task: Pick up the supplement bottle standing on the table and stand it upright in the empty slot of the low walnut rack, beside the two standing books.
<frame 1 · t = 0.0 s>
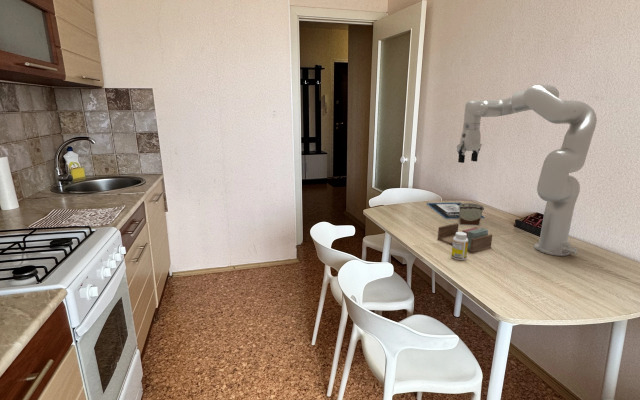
hand: (467, 161, 175), 31 cm above the table, tool pointing down, fingers open, 9 cm apart
rack: (463, 243, 152), on the table
sketchbook: (453, 212, 202), on the table
food container: (467, 223, 180), on the table
supplement bottle: (458, 258, 138), on the table
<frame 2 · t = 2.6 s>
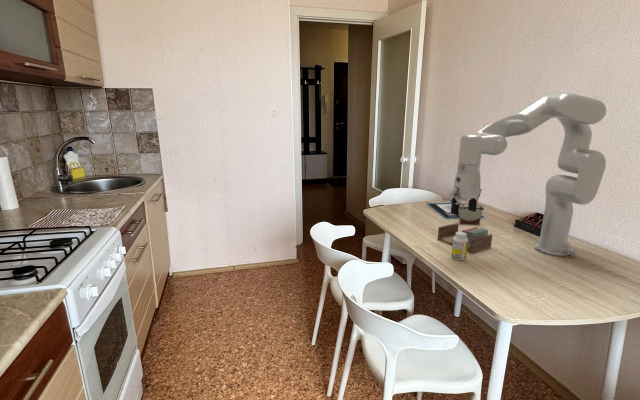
hand: (463, 212, 134), 19 cm above the table, tool pointing down, fingers open, 9 cm apart
nothing on the table moved.
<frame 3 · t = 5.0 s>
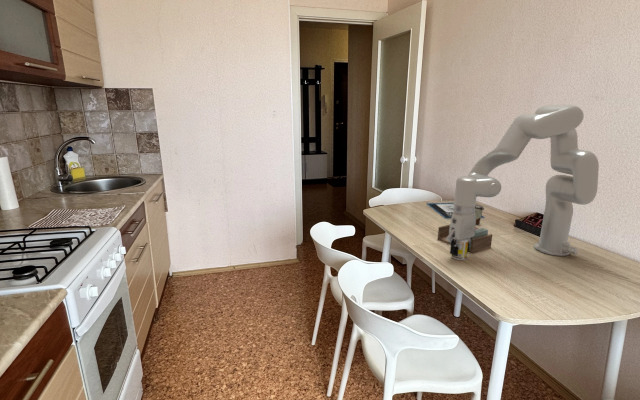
hand: (459, 252, 138), 2 cm above the table, tool pointing down, fingers closed on supplement bottle, 5 cm apart
supplement bottle: (458, 258, 138), on the table, touching gripper
everything else where it was.
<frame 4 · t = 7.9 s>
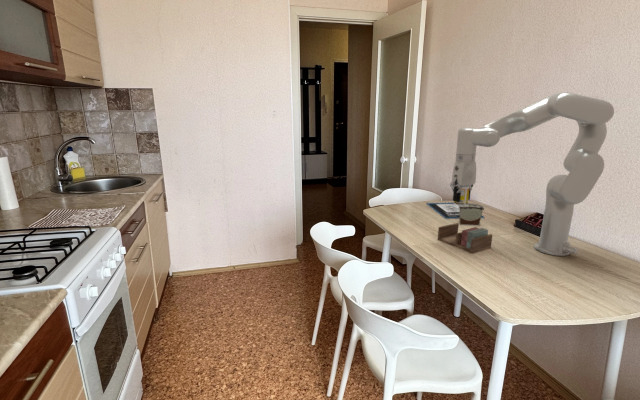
hand: (461, 199, 149), 19 cm above the table, tool pointing down, fingers closed on supplement bottle, 5 cm apart
supplement bottle: (460, 205, 150), point 17 cm above the table, touching gripper
everything else where it was.
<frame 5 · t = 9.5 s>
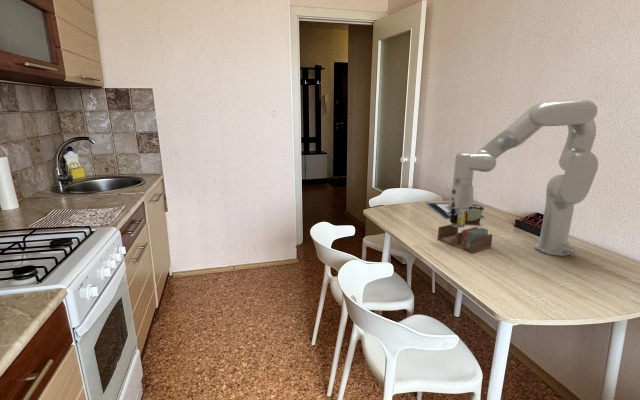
hand: (458, 221, 153), 9 cm above the table, tool pointing down, fingers closed on supplement bottle, 5 cm apart
supplement bottle: (457, 226, 154), point 7 cm above the table, touching gripper
everything else where it was.
when the fingers open (4 cm above the table, at t = 10.9 s): supplement bottle drops 1 cm, resting on rack.
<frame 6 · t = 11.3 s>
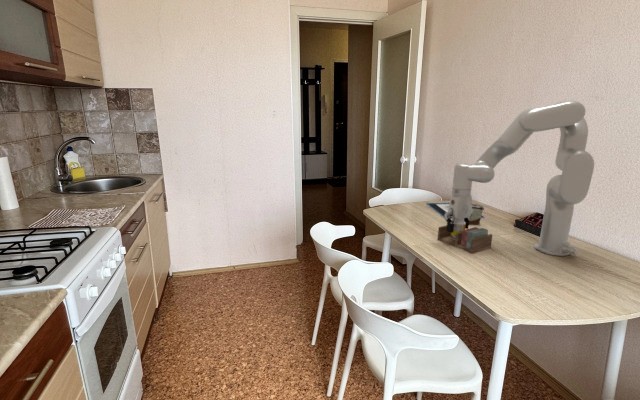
hand: (457, 229, 154), 5 cm above the table, tool pointing down, fingers open, 9 cm apart
supplement bottle: (457, 239, 155), point 1 cm above the table, touching rack
everything else where it was.
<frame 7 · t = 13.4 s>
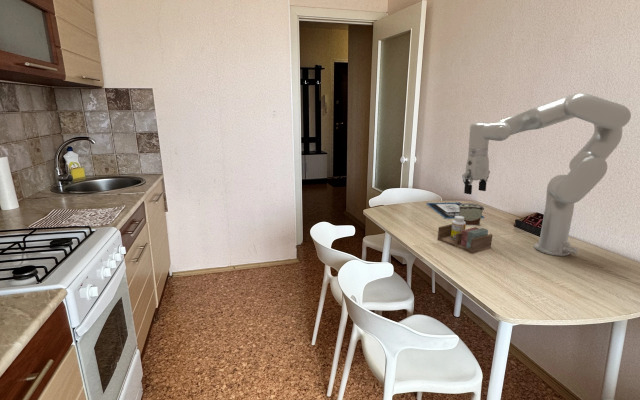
hand: (475, 192, 151), 22 cm above the table, tool pointing down, fingers open, 9 cm apart
nothing on the table moved.
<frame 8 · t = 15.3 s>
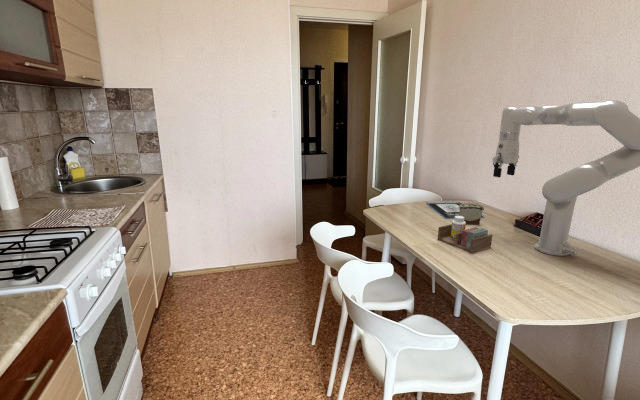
hand: (503, 175, 154), 28 cm above the table, tool pointing down, fingers open, 9 cm apart
nothing on the table moved.
at the end: supplement bottle 0.3 cm from the target spot on the rack, point 0.8 cm above the rack's base; supplement bottle tilted 0°; the gripper is holding nothing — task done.
